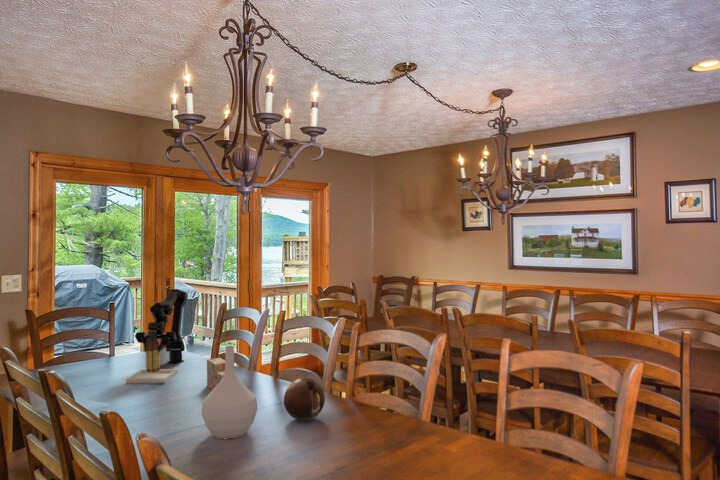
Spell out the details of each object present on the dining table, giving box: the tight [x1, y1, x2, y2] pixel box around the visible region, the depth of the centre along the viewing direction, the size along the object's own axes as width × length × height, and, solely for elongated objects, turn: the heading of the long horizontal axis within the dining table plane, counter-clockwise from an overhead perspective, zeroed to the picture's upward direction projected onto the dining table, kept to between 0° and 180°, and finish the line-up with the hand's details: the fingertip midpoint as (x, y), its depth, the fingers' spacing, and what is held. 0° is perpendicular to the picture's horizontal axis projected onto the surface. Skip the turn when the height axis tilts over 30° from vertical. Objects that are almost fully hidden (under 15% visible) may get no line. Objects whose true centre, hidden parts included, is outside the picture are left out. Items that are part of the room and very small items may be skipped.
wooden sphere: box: [283, 377, 326, 422], centre depth 182 cm, size 15×15×15 cm
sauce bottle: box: [145, 329, 161, 372], centre depth 241 cm, size 6×6×20 cm
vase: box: [201, 345, 258, 440], centre depth 169 cm, size 18×18×30 cm
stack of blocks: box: [206, 357, 225, 391], centre depth 221 cm, size 21×6×12 cm, turn 33°
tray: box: [125, 368, 178, 385], centre depth 240 cm, size 18×18×2 cm
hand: (151, 351), depth 239 cm, fingers closed on sauce bottle, 6 cm apart
